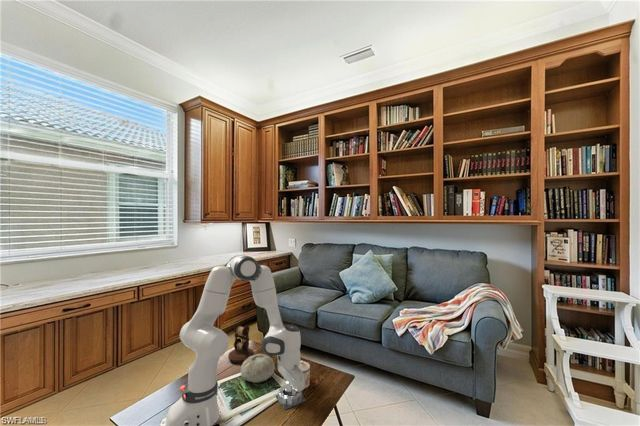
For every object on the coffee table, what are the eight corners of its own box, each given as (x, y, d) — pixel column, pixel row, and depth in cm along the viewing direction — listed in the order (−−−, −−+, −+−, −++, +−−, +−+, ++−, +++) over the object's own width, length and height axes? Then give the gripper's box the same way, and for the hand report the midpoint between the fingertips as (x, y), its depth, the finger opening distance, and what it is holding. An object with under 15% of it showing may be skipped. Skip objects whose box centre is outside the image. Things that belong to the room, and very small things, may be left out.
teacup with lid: (309, 390, 131) (309, 366, 131) (290, 389, 132) (291, 365, 132) (311, 375, 143) (311, 354, 143) (294, 374, 144) (294, 353, 144)
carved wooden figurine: (258, 356, 162) (259, 323, 162) (239, 367, 149) (240, 332, 150) (242, 349, 170) (243, 318, 170) (222, 359, 157) (223, 325, 157)
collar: (284, 410, 118) (284, 402, 118) (274, 395, 127) (274, 388, 127) (306, 401, 123) (306, 393, 124) (295, 388, 133) (295, 381, 133)
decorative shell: (254, 392, 129) (255, 371, 129) (233, 378, 139) (233, 359, 140) (281, 375, 143) (281, 356, 143) (259, 363, 154) (260, 346, 154)
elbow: (298, 396, 125) (299, 381, 126) (287, 400, 122) (288, 385, 122) (293, 390, 130) (294, 375, 130) (282, 394, 126) (283, 379, 126)
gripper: (308, 369, 119) (307, 400, 119) (286, 350, 136) (286, 377, 136) (295, 373, 116) (295, 405, 115) (275, 353, 132) (275, 381, 132)
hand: (290, 390), depth 126 cm, fingers closed on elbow, 5 cm apart
